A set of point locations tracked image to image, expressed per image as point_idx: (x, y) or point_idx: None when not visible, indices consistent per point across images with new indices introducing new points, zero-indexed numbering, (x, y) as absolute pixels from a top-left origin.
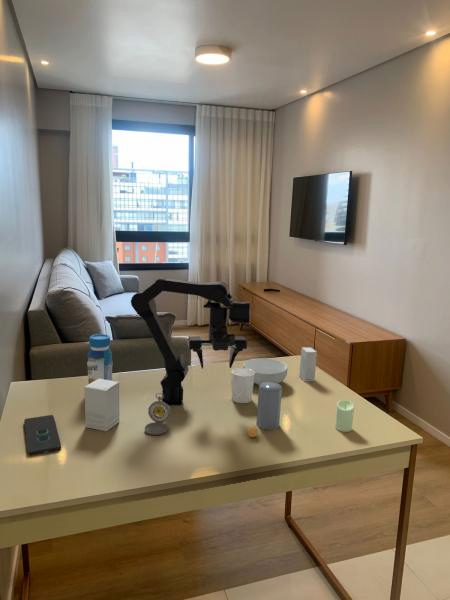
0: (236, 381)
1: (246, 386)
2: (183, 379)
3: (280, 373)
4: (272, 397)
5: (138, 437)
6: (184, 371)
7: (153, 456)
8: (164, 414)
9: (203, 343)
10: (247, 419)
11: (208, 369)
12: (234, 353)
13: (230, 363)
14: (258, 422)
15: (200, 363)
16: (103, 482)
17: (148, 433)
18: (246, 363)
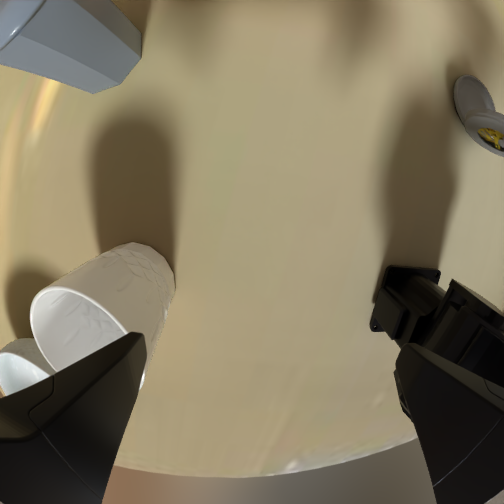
0: (130, 297)
1: (91, 263)
2: (451, 305)
3: (2, 350)
4: None
5: (496, 95)
6: (468, 336)
7: (462, 11)
8: (480, 128)
9: None
10: (159, 94)
11: (219, 464)
12: (7, 425)
13: (121, 357)
14: (136, 40)
15: (451, 363)
16: (500, 5)
17: (486, 94)
18: None
